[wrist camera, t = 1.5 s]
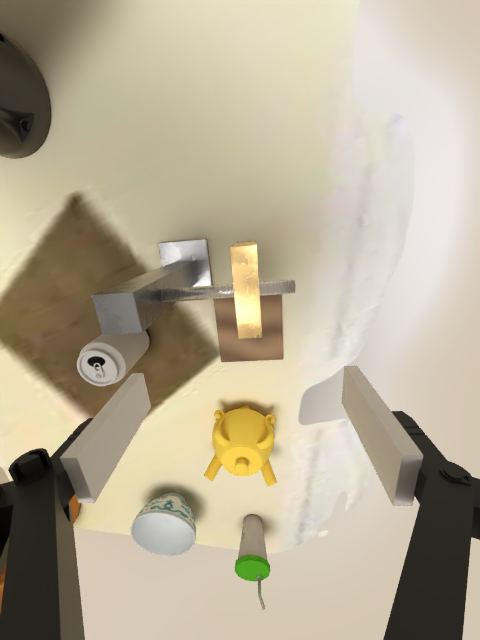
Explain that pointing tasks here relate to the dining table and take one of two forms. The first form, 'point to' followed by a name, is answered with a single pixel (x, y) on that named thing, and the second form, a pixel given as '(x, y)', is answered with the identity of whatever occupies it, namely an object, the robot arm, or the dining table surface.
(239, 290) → the c link
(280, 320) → the walnut board
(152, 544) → the chinaware
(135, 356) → the can
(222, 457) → the teapot
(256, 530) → the cup
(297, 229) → the dining table surface
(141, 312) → the stand
